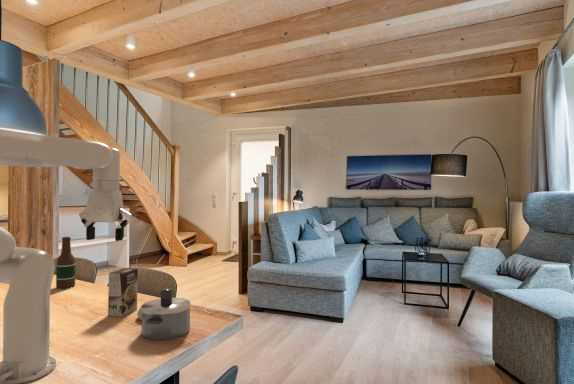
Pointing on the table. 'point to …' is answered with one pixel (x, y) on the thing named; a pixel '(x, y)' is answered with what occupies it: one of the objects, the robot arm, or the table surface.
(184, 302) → the lid
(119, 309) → the coffee box
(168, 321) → the pot
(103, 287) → the table surface
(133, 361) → the table surface
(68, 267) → the beer bottle
